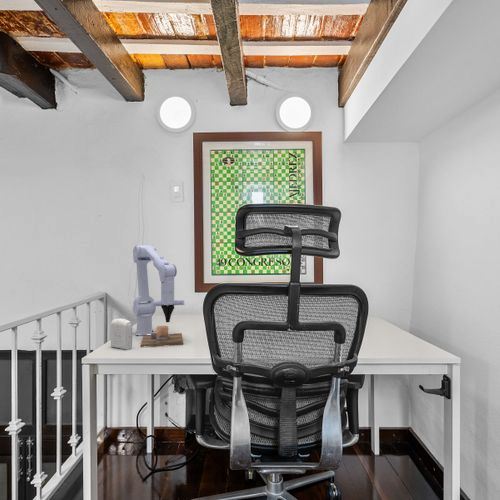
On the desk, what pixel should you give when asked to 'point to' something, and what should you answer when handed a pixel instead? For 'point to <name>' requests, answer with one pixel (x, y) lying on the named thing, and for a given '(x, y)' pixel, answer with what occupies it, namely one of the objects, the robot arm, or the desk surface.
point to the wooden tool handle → (160, 332)
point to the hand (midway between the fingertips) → (167, 321)
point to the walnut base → (162, 340)
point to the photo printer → (121, 334)
